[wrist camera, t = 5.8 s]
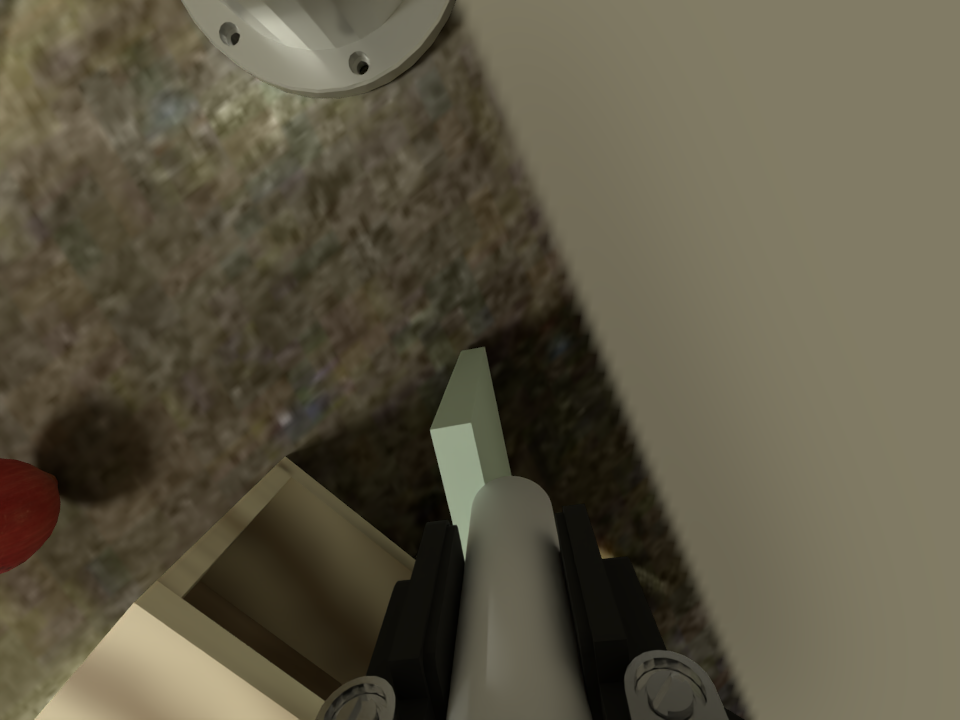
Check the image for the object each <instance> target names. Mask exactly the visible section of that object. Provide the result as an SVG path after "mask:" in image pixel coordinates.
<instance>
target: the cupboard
mask: <svg viewBox="0 0 960 720" xmlns="http://www.w3.org/2000/svg"><path fill="white" fill-rule="evenodd" d="M415 561H416V560H415V559H414V558H412V557H411V556H410V555H409V554H407V553H406V552H405V551H404V550H402V549H401V548H400V547H398V546H397V545H396V544H395V543H393V542H392V541H391V540H390V539H388V538H387V537H386V536H385V535H383V534H382V533H381V532H380V531H378V530H377V529H376V528H375V527H373V526H372V525H371V524H370V523H368V522H367V521H366V520H365V519H363V518H362V517H361V516H360V515H358V514H357V513H356V512H354V511H353V510H352V509H351V508H349V507H348V506H347V505H346V504H344V503H343V502H342V501H341V500H339V499H338V498H337V497H336V496H334V495H333V494H332V493H331V492H329V491H328V490H327V489H326V488H324V487H323V486H322V485H321V484H319V483H318V482H317V481H316V480H314V479H313V478H312V477H311V476H309V475H308V474H307V473H305V472H304V471H303V470H302V469H300V468H299V467H298V466H297V465H295V464H294V463H293V462H292V461H290V460H289V459H288V458H287V457H284V458H283V459H282V460H281V461H280V462H279V463H278V464H277V465H276V466H275V467H274V468H273V469H272V470H271V471H270V472H269V473H268V474H267V475H266V476H264V477H263V478H262V479H261V480H260V481H259V482H258V483H257V484H256V485H255V486H254V487H253V488H252V489H251V490H250V491H249V492H248V493H247V494H246V495H245V496H244V497H243V498H242V499H241V500H240V501H239V502H238V503H237V504H236V505H234V506H233V507H232V508H231V509H230V510H229V511H228V512H227V513H226V514H225V515H224V516H223V517H222V518H221V519H220V520H219V521H218V522H217V523H216V524H215V525H214V526H213V527H212V528H211V529H210V530H209V531H208V532H207V533H206V534H204V535H203V536H202V537H201V538H200V539H199V540H198V541H197V542H196V543H195V544H194V545H193V546H192V547H191V548H190V549H189V550H188V551H187V552H186V553H185V554H184V555H183V556H182V557H181V558H180V559H179V560H178V561H177V562H176V563H174V564H173V565H172V566H171V567H170V568H169V569H168V570H167V571H166V572H165V573H164V574H163V575H162V576H161V577H160V578H159V579H158V580H157V581H156V582H155V583H154V584H153V585H152V586H151V587H150V588H149V589H148V590H147V591H146V592H144V593H143V594H142V595H141V596H140V597H139V598H138V599H137V600H136V601H135V602H134V603H133V604H132V606H131V607H130V608H129V609H128V610H127V611H126V613H125V614H124V615H123V616H122V617H121V618H120V620H119V621H118V622H117V623H116V624H115V626H114V627H113V628H112V629H111V630H110V631H109V633H108V634H107V635H106V636H105V637H104V638H103V640H102V641H101V642H100V643H99V644H98V645H97V647H96V648H95V649H94V650H93V651H92V653H91V654H90V655H89V656H88V657H87V658H86V660H85V661H84V662H83V663H82V664H81V665H80V667H79V668H78V669H77V670H76V671H75V672H74V674H73V675H72V676H71V677H70V678H69V680H68V681H67V682H66V683H65V684H64V685H63V687H62V688H61V689H60V690H59V691H58V692H57V694H56V695H55V696H54V697H53V698H52V699H51V701H50V702H49V703H48V704H47V705H46V706H45V708H44V709H43V710H42V711H41V712H40V714H39V715H38V716H37V717H36V718H35V719H34V720H315V719H316V717H317V715H318V712H319V710H320V708H321V706H322V705H323V704H324V702H325V701H326V700H327V699H328V697H329V696H330V695H331V694H332V693H333V692H334V691H336V690H337V689H338V688H339V687H340V686H342V685H343V684H345V683H347V682H349V681H351V680H353V679H356V678H359V677H363V676H366V673H367V670H368V667H369V664H370V660H371V657H372V654H373V651H374V648H375V645H376V642H377V638H378V635H379V632H380V629H381V626H382V623H383V620H384V616H385V613H386V610H387V607H388V604H389V601H390V598H391V594H392V591H393V588H394V586H395V584H396V582H397V581H401V580H410V579H411V575H412V571H413V568H414V564H415Z"/></svg>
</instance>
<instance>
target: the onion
mask: <svg viewBox="0 0 960 720" xmlns="http://www.w3.org/2000/svg"><path fill="white" fill-rule="evenodd" d="M59 512H60V496H59V491H58V481H57V479H56V477H55V476H54V475H52V474H50V473H47V472H44V471H42V470H40V469H38V468H36V467H34V466H33V465H31V464H28V463H25V462H22V461H18V460H12V459H1V458H0V574H1V573H4V572H7V571H9V570H11V569H13V568H15V567H16V566H18V565H20V564H22V563H23V562H25V561H26V560H27V559H29V558H30V557H31V556H32V555H33V554H34V553H35V552H36V551H37V550H38V549H39V548H40V547H41V546H42V545H43V544H44V542H45V541H46V540H47V539H48V538H49V536H50V535H51V534H52V531H53V529H54V527H55V525H56V523H57V520H58V516H59Z"/></svg>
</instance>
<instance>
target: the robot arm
mask: <svg viewBox="0 0 960 720" xmlns="http://www.w3.org/2000/svg"><path fill="white" fill-rule="evenodd" d="M181 1H182V3H183V4H184V6H185V8H186V9H187V11H188V13H189V14H190V16H191V18H192V19H193V21H194V22H195V23H196V25H197V26H198V27H199V28H200V29H201V31H202V32H203V33H204V34H205V35H206V36H207V38H208V39H209V40H210V41H211V42H212V44H213V45H214V46H215V47H216V48H217V49H219V50H220V51H221V52H222V53H223V54H225V55H226V56H227V57H228V58H229V59H231V60H232V61H233V62H234V63H235V64H236V65H238V66H239V67H241V68H242V69H244V70H245V71H247V72H248V73H250V74H251V75H253V76H254V77H256V78H257V79H259V80H260V81H262V82H265V83H267V84H269V85H271V86H274V87H276V88H278V89H280V90H282V91H285V92H287V93H292V94H296V95H301V96H305V97H310V98H344V97H349V96H353V95H358V94H363V93H367V92H369V91H371V90H373V89H375V88H378V87H380V86H382V85H384V84H387V83H389V82H391V81H392V80H393V79H395V78H396V77H398V76H399V75H400V74H402V73H403V72H404V71H406V70H407V69H409V68H410V67H411V66H413V65H414V64H415V63H416V61H417V60H418V59H419V58H420V57H421V56H422V55H423V54H424V53H425V52H426V50H427V49H428V48H429V47H430V46H431V45H432V44H433V43H434V41H435V39H436V38H437V36H438V34H439V33H440V31H441V30H442V28H443V26H444V25H445V23H446V22H447V20H448V18H449V16H450V14H451V11H452V9H453V6H454V4H455V1H456V0H181ZM238 39H239V41H238V43H237V40H238ZM364 65H367V66H369V68H368V71H367V72H366V73H364V74H363V75H360V69H361V67H362V66H364ZM562 508H563V512H562V513H555V519H556V526H557V533H558V540H559V547H560V554H561V560H562V565H563V570H564V576H565V581H566V586H567V592H568V597H569V602H570V608H571V613H572V618H573V624H574V629H575V634H576V640H577V645H578V651H579V656H580V661H581V667H582V672H583V677H584V683H585V688H586V693H587V699H588V704H589V707H590V711H591V715H592V720H744V719H742V718H741V717H739V716H737V715H736V714H734V713H732V712H731V711H729V710H727V709H726V708H724V707H723V705H722V702H721V700H720V698H719V695H718V693H717V691H716V688H715V686H714V684H713V683H712V681H711V679H710V678H709V676H708V674H707V673H706V672H705V671H704V670H703V669H702V668H701V667H700V666H699V665H698V664H697V663H695V662H694V661H692V660H690V659H689V658H687V657H685V656H684V655H681V654H678V653H675V652H672V651H667V650H666V647H665V645H664V642H663V640H662V637H661V635H660V632H659V630H658V627H657V625H656V623H655V620H654V618H653V615H652V613H651V610H650V608H649V605H648V603H647V600H646V598H645V595H644V593H643V590H642V588H641V586H640V583H639V581H638V578H637V576H636V573H635V571H634V568H633V566H632V563H631V561H630V559H629V558H628V557H627V556H626V557H617V558H607V559H602V558H601V555H600V552H599V548H598V545H597V542H596V539H595V536H594V533H593V529H592V526H591V523H590V520H589V517H588V514H587V510H586V507H585V504H578V505H569V506H562ZM464 566H465V560H464V555H463V550H462V545H461V540H460V535H459V530H458V526H457V525H450V522H449V521H448V520H442V521H433V522H427V523H426V525H425V528H424V532H423V535H422V539H421V542H420V546H419V550H418V553H417V557H416V561H415V564H414V568H413V571H412V575H411V579H410V580H401V581H397V582H396V584H395V586H394V588H393V591H392V594H391V598H390V601H389V604H388V607H387V610H386V613H385V616H384V620H383V623H382V626H381V629H380V632H379V635H378V638H377V642H376V645H375V648H374V651H373V654H372V657H371V660H370V664H369V667H368V670H367V673H366V676H363V677H359V678H356V679H353V680H351V681H349V682H347V683H345V684H343V685H342V686H340V687H339V688H338V689H337V690H336V691H334V692H333V693H332V694H331V695H330V696H329V697H328V699H327V700H326V701H325V702H324V704H323V705H322V706H321V708H320V710H319V712H318V715H317V717H316V719H315V720H446V716H447V708H448V700H449V691H450V683H451V675H452V666H453V658H454V650H455V641H456V633H457V624H458V616H459V608H460V599H461V591H462V583H463V574H464Z"/></svg>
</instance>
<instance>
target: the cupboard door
mask: <svg viewBox="0 0 960 720" xmlns="http://www.w3.org/2000/svg"><path fill="white" fill-rule="evenodd" d="M430 433H431V437H432V441H433V445H434V449H435V453H436V457H437V461H438V465H439V469H440V473H441V477H442V481H443V485H444V490H445V494H446V498H447V502H448V506H449V510H450V514H451V518H452V522H453V525H457V526H458V530H459V535H460V540H461V545H462V550H463V555H464V560H465V566H464V574H463V583H462V591H461V599H460V608H459V616H458V624H457V633H456V641H455V650H454V658H453V666H452V675H451V683H450V691H449V700H448V708H447V716H446V720H592V715H591V711H590V707H589V704H588V699H587V693H586V688H585V683H584V677H583V672H582V667H581V661H580V656H579V651H578V645H577V640H576V634H575V629H574V624H573V618H572V613H571V608H570V602H569V597H568V592H567V586H566V581H565V576H564V570H563V565H562V560H561V554H560V547H559V541H558V535H557V530H556V525H555V519H554V514H553V509H552V504H551V501H550V499H549V497H548V495H547V493H546V492H545V491H544V490H543V489H542V488H541V487H540V486H539V485H538V484H536V483H535V482H533V481H531V480H529V479H526V478H523V477H518V476H511V471H510V466H509V462H508V457H507V452H506V447H505V442H504V437H503V432H502V428H501V423H500V418H499V413H498V408H497V403H496V399H495V394H494V389H493V384H492V379H491V374H490V370H489V365H488V360H487V355H486V350H485V347H480V348H475V349H469V350H464V351H461V353H460V355H459V358H458V360H457V363H456V365H455V368H454V370H453V373H452V375H451V378H450V380H449V383H448V385H447V388H446V390H445V393H444V395H443V398H442V400H441V403H440V406H439V408H438V411H437V413H436V416H435V418H434V421H433V423H432V426H431V428H430Z"/></svg>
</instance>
